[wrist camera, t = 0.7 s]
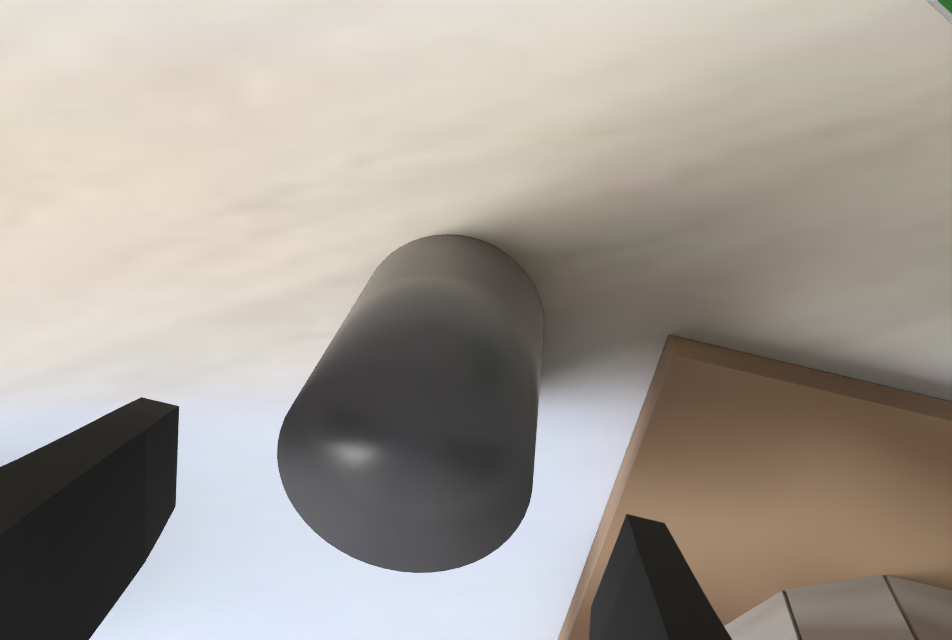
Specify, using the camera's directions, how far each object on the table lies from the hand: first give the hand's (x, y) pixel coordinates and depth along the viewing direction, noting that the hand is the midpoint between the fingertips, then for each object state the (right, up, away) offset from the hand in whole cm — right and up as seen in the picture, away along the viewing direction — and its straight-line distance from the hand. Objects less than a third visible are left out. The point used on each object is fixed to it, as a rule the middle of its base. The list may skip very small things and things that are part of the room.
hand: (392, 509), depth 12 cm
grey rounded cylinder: (+1, +3, +6) cm, 7 cm away
